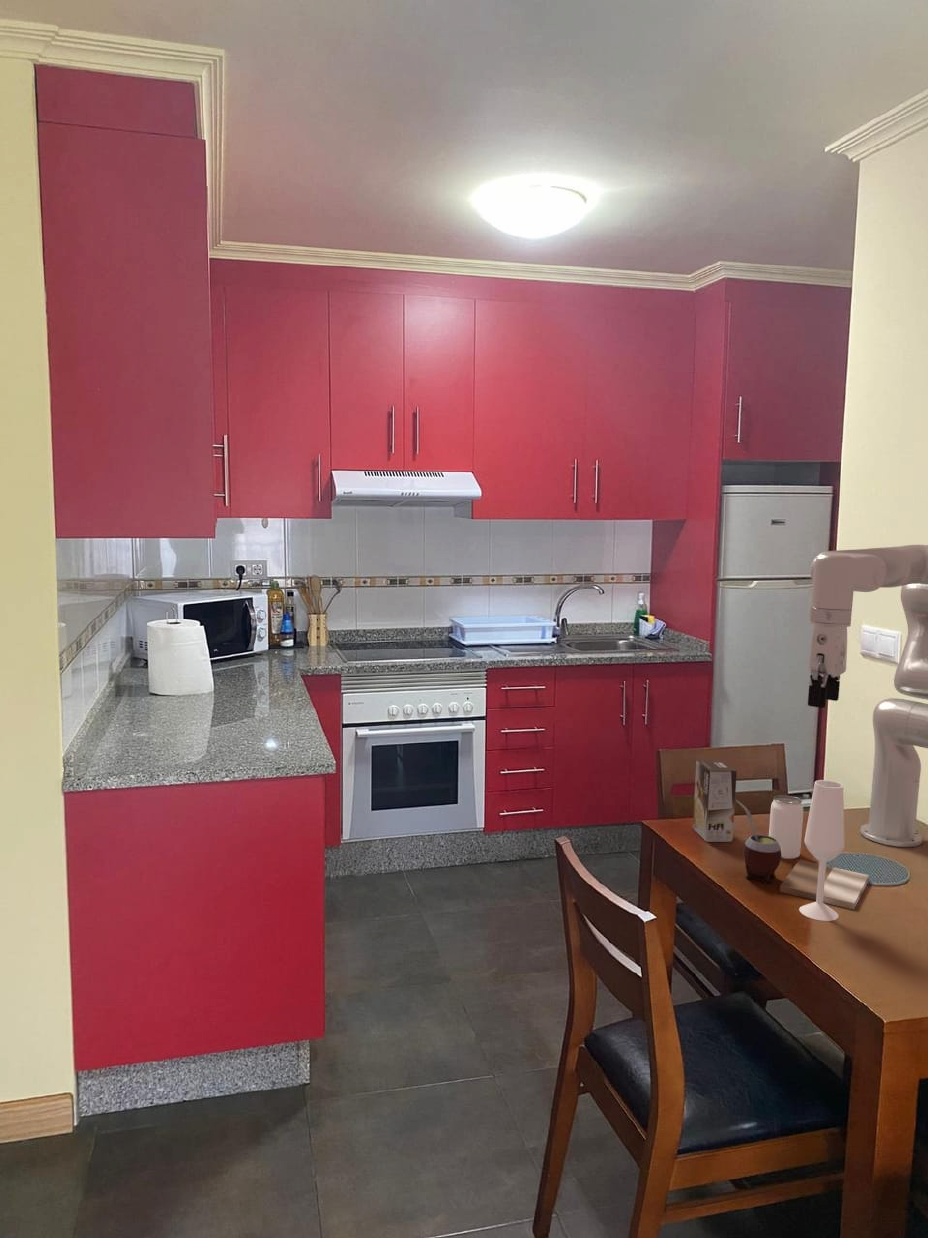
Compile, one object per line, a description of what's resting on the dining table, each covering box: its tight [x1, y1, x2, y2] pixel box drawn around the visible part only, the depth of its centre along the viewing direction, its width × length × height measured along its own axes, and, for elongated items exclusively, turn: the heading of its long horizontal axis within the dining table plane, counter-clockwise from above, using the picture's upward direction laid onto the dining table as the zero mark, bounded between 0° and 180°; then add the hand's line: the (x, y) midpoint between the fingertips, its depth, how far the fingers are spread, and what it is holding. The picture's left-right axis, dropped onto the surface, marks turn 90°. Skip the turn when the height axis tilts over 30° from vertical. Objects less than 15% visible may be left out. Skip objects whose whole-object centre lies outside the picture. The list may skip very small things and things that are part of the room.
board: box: [779, 859, 870, 910], centre depth 175 cm, size 16×13×1 cm
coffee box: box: [692, 759, 738, 843], centre depth 201 cm, size 9×6×16 cm
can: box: [768, 794, 804, 860], centre depth 191 cm, size 6×6×12 cm
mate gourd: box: [735, 799, 782, 885], centre depth 178 cm, size 8×8×15 cm
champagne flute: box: [798, 779, 845, 922], centre depth 162 cm, size 7×7×24 cm
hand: (823, 703), depth 179 cm, fingers open, 9 cm apart
